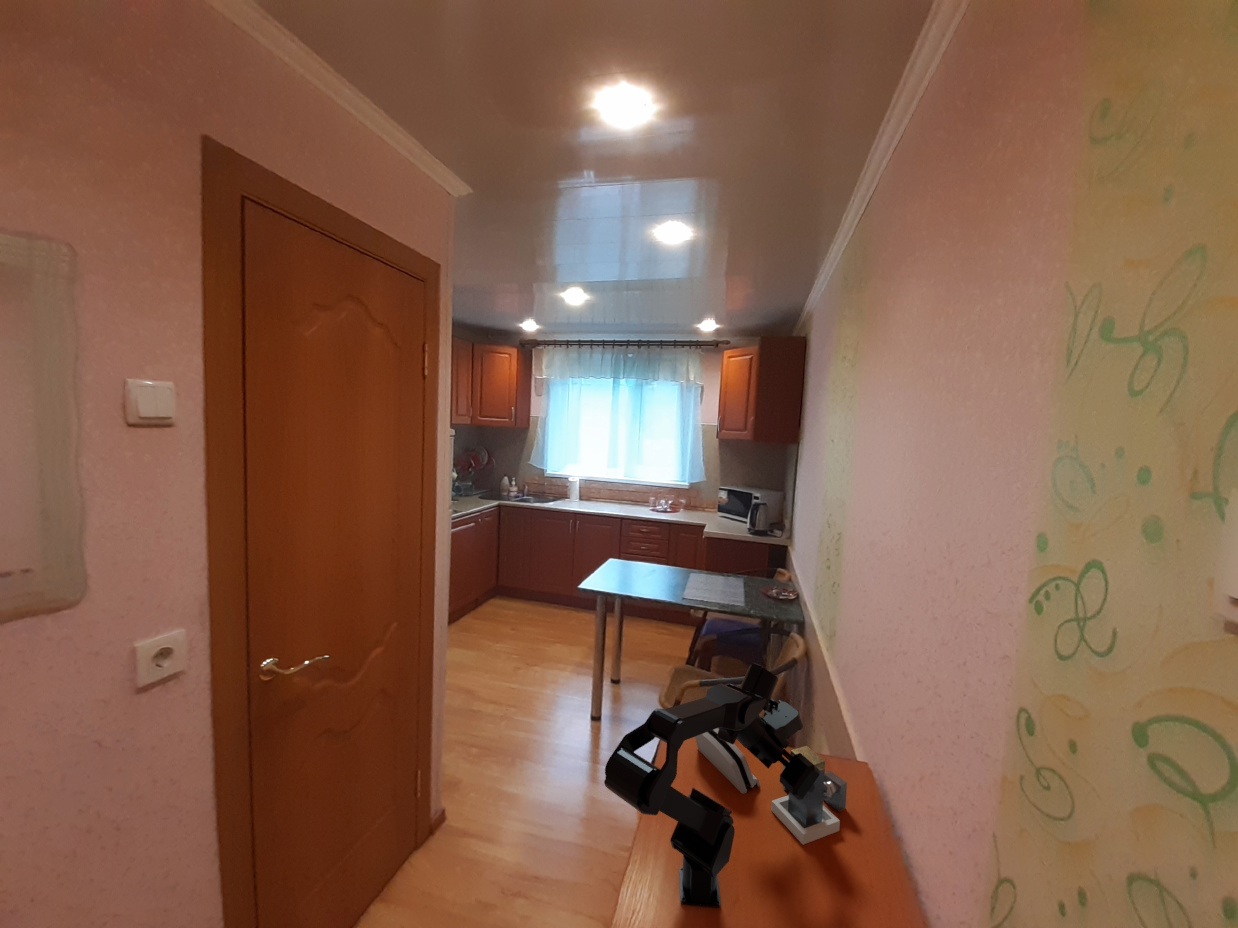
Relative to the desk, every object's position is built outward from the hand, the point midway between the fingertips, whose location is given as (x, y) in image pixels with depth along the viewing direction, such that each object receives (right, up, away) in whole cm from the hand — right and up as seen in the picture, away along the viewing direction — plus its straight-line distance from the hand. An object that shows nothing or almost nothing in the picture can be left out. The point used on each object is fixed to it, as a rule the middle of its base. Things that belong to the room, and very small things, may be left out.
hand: (795, 773), depth 99 cm
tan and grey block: (+2, -10, +2) cm, 11 cm away
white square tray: (+2, -11, +2) cm, 11 cm away
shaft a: (+9, -10, +6) cm, 15 cm away
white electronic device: (-11, -10, +17) cm, 22 cm away
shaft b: (+3, -10, +10) cm, 15 cm away
